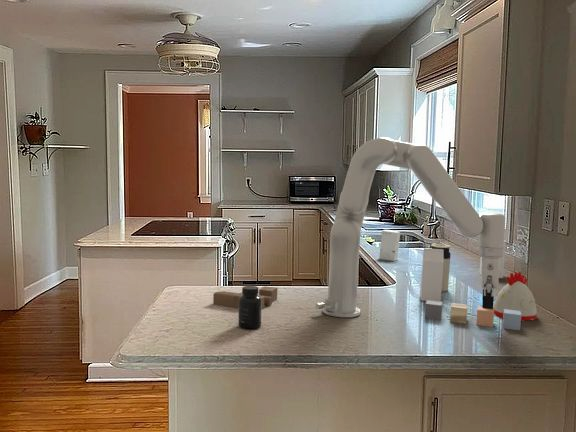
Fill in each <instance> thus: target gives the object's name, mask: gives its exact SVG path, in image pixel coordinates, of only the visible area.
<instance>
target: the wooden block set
mask: <svg viewBox="0 0 576 432" xmlns="http://www.w3.org/2000/svg"><path fill="white" fill-rule="evenodd" d="M278 289H279V288H278V287H275V286H274V287H273V286H267V285H266V286H265V285H264V286H262V287H260V288H258V292H259V294H258V296H260V297H261V299H262V309H261V311H262V310H264V309H265V306H266V307H271V306H272V304H273V303H274V302H275V301H277V300H278ZM242 295H243V294H242V292H232V291H224V290H223V291H215V292H214V293H213V299H212V301H213V302H212V303H213V305H215V306H223V307H228V308H229V307H231V308H234V309H239V298H240V297H241V296H242Z"/></svg>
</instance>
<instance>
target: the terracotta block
mask: <svg viewBox="0 0 576 432" xmlns="http://www.w3.org/2000/svg"><path fill="white" fill-rule="evenodd" d="M494 317H495V315H494V308H493V309H484V308H482V305H480V306H479V305H477V309H476V323H475V324H476V326H483V327H491V328H493V327H494V319H495V318H494Z"/></svg>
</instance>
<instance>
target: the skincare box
mask: <svg viewBox="0 0 576 432" xmlns="http://www.w3.org/2000/svg"><path fill="white" fill-rule="evenodd" d="M400 236H401V231H399V230H398V231H396V230H391V229H383V230H381V237H380V238H381V239H380V246H379V247H380V248H379V260H382V261H392V262H395V261H397V260H398V256H399V250H400V249H399V247H400V240H401V239H400V238H401V237H400Z"/></svg>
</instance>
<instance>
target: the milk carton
mask: <svg viewBox="0 0 576 432" xmlns="http://www.w3.org/2000/svg"><path fill="white" fill-rule="evenodd" d="M443 252H444V250H442V249H432V248H428V247H427V248H426V247H425V248H423V251H422V253H423V254H422V263H421V264H422V265H421V280H420V291H419V292H420V301H424V302H427V300H430V301H438V302H442V301H441V300H442V292H441V290H442V276H443Z"/></svg>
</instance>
